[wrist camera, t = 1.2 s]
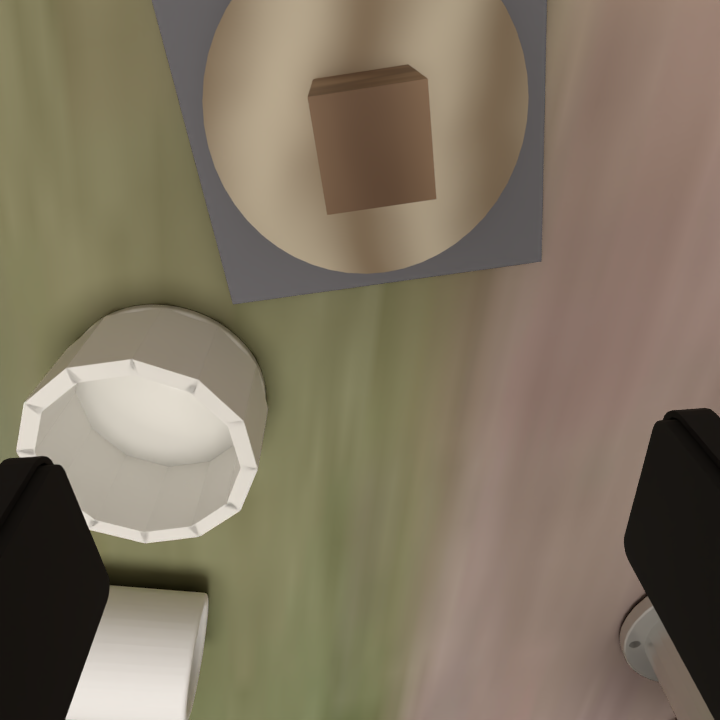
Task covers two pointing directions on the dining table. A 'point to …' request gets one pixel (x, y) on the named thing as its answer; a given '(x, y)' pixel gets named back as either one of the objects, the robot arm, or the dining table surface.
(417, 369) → the dining table surface
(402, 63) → the lid
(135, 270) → the dining table surface
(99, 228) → the dining table surface
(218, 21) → the mat
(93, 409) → the bowl
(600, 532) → the dining table surface
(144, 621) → the mug
